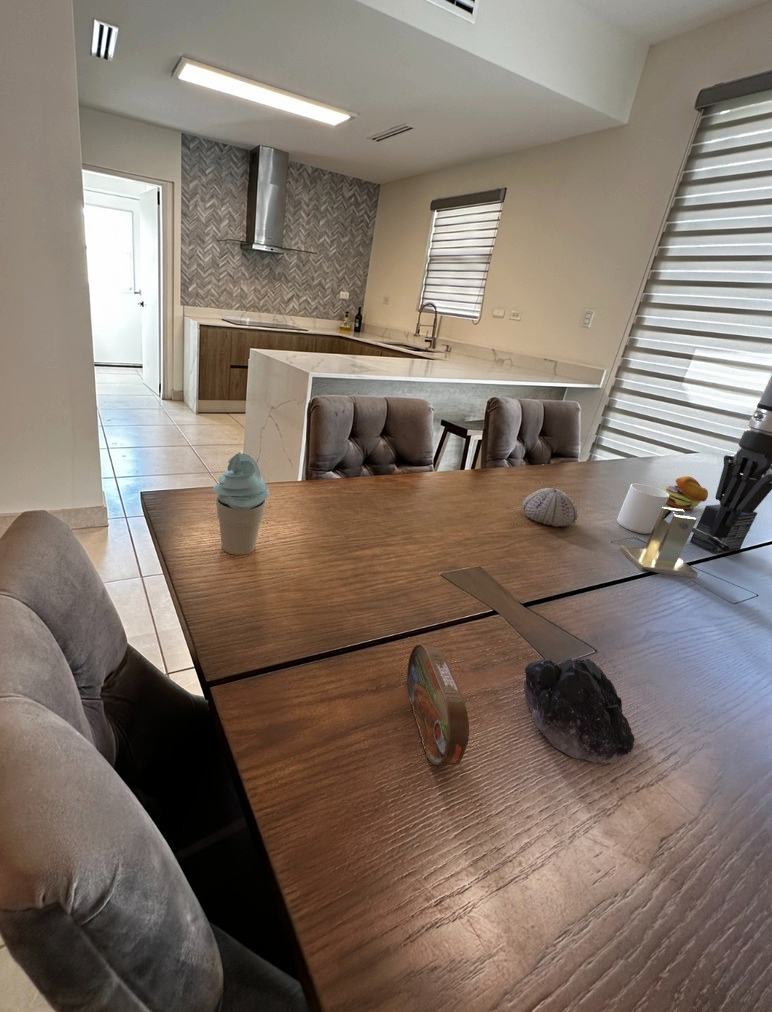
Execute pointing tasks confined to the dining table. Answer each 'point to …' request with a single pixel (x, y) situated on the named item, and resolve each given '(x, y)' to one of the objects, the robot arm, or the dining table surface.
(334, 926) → the dining table surface
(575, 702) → the crystal cluster
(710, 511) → the small box
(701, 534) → the lever
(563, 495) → the sea urchin shell
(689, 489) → the cheeseburger
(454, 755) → the tin
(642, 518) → the mug
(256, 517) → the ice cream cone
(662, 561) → the bracket
